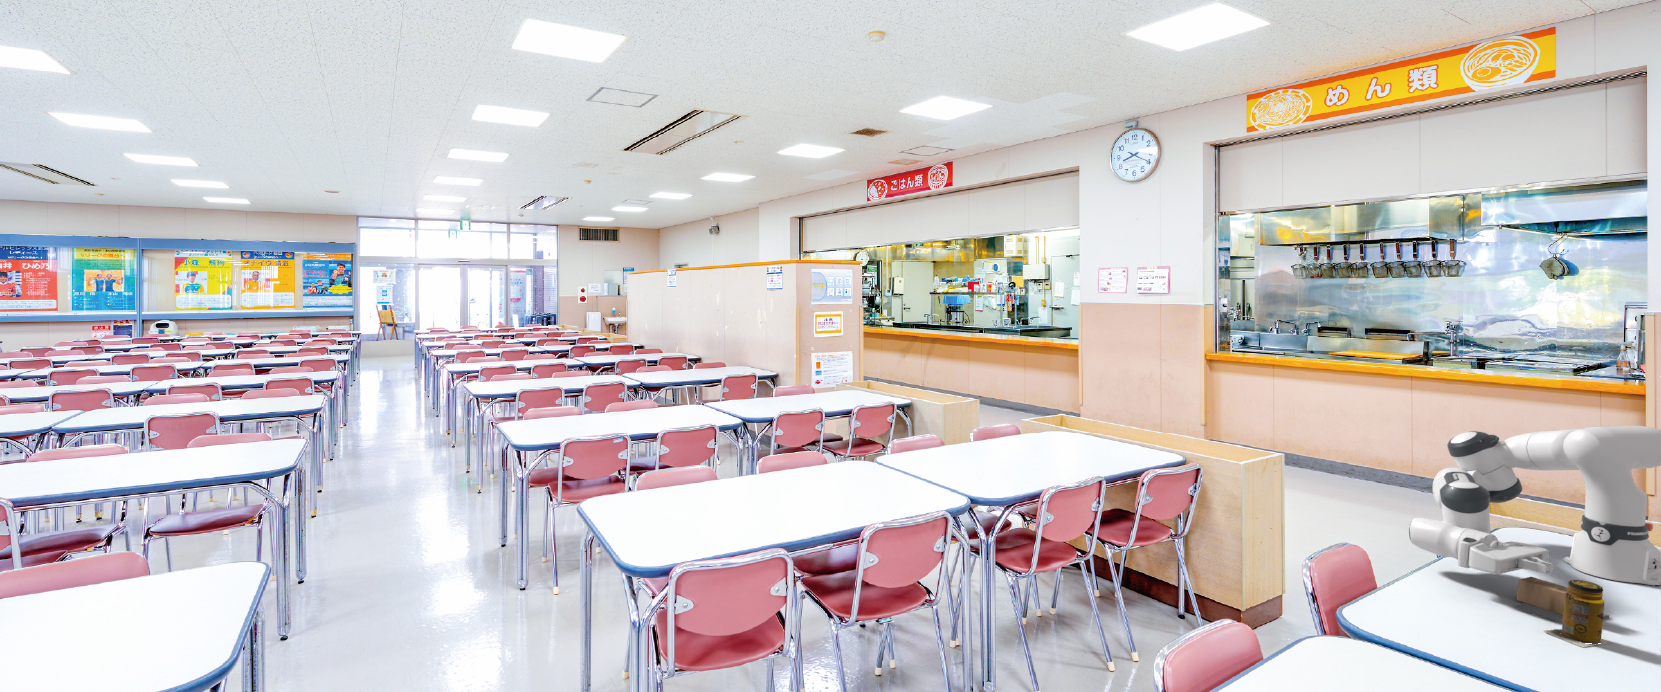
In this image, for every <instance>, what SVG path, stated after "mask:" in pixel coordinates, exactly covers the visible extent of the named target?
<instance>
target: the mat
mask: <svg viewBox="0 0 1661 692" xmlns="http://www.w3.org/2000/svg"><path fill="white" fill-rule="evenodd" d="M1513 609H1516V610H1519V611H1522V612H1525V613H1528V614H1531V615H1534V616H1537V617H1539V616H1540V617H1541V618H1543V619H1546V620H1548V621H1551V622H1555V623H1557V624H1561V625H1562V622H1563V615H1562V614H1559V613H1556V612H1553V611H1550V610H1547V609H1544V608H1541V607H1538V606H1535V605H1532V604H1528V603H1525V602H1522V603H1518V604H1514V605H1513ZM1609 618H1610V614H1607V613H1604V614H1603V620H1606V619H1609Z"/></svg>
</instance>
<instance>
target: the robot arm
mask: <svg viewBox="0 0 1661 692" xmlns="http://www.w3.org/2000/svg"><path fill="white" fill-rule="evenodd" d="M1447 450H1448V452H1449V454H1450V456H1451V457H1452V458H1453V460H1454V462H1455V464H1456V466H1457V467H1455V466H1452V467H1451V466H1450V467H1446V468H1442V469H1441V470H1440V471H1438V472H1437V474H1435V476H1434V479H1433V482H1432V495H1433V498H1434V500H1435V502H1436V504H1437V505H1438V508H1440V509H1441V513H1442V520H1437V519H1431V518H1426V517H1414V518H1413V519H1412V520H1411V522H1410V524H1409V528H1408V534H1409V535H1408V536H1409V540H1410V543H1411V544H1412V545H1414V546H1415V547H1416V548H1419V549H1421V550H1424V551H1426V552H1429V553H1432V554H1434V555H1437V556H1439V557H1445V558H1452V559H1455V560H1457V561H1458V562H1457V564H1458V566H1459V567H1461V568H1465V569H1469V568H1470V569H1474V570H1479V571H1481V572H1485V573H1490V574H1499V575H1502V574H1506V573H1511V572H1515V571H1519V570H1526V571H1527V570H1528V571H1535V572H1540V573H1545V574H1546V573H1549V572H1553V571H1554V565H1553V563H1551V562H1549V558H1550V557H1549V555H1550V551H1549V549H1547V548H1545V547H1541V546H1537V545H1533V544H1529V543H1523V542H1518V541H1506V542H1501V541H1500V540H1499V539H1498V538H1497V536H1496V535H1494V534H1493V533H1491V517H1490V503H1493V504H1500V503H1506V502H1509V501H1512V500H1514V499H1516V498H1517V497H1519V496H1520V495H1521V494H1522V492H1523V486H1522V482H1521V480H1520V478H1519V477H1517V475H1516V474H1515V472H1514V470H1513V469H1514V468H1517V469H1521V470H1523V469H1525V470H1530V471H1531V470H1532V471H1580V473H1581V476H1582V478H1583V481H1584V485H1585V486H1584V487H1585V496H1584V497H1585V499H1584V500H1585V501H1584V503H1585V504H1584V514H1582V516H1581V520H1580V529H1581V530H1579V531H1578V532H1575V533H1574V535H1573V539H1572V545H1571V550H1570V556H1565V557H1563V561H1564V562H1566V563H1567V564H1569V565H1571V567H1572V568H1574V569H1575V570H1578V571H1580V572H1582V573H1585V574H1588V575H1591V576H1595V577H1599V578H1602V579H1607V580H1612V581H1617V582H1624V583H1634V584H1643V585H1649V586H1655V585H1660V586H1661V550H1660V549H1658V548H1657V547H1656V546H1655V544H1653V543H1652V541H1651V540H1650V539H1649V538H1650V535H1649V534H1650V533H1649V532H1652V531H1653V528H1654V525H1653V523H1648V522H1646V519H1647V507H1648V496H1647V494H1646V492H1645V491H1644V490H1642V489H1641V488H1640V487H1638V486H1637V485H1636V483H1635V481H1634V479H1633V475H1632V472H1633V471H1632V470H1637V469H1639V470H1641V469H1642V470H1643V469H1652V468H1658V467H1661V428H1655V427H1653V426H1644V425H1618V426H1617V425H1614V426H1613V425H1611V426H1609V425H1608V426H1607V425H1606V426H1589V427H1584V428H1575V429H1571V428H1570V429H1557V430H1544V431H1533V432H1526V433H1521V434H1515V435H1513V436H1510V437H1508V438H1506V439H1504V440H1500V437H1499V436H1497V435H1496V434H1488V433H1486V432H1484V431H1478V430H1477V431H1476V430H1470V431H1467V432H1461V433H1459V434H1457V435H1455V436H1453V437H1452V438H1450V439H1449V441H1448V443H1447Z"/></svg>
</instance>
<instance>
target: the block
mask: <svg viewBox="0 0 1661 692" xmlns="http://www.w3.org/2000/svg"><path fill="white" fill-rule="evenodd" d="M1568 587H1569V586H1565V585H1561V584H1558V583H1554V582H1551V581H1547V580H1544V579H1541V578H1537V577H1534V576H1529V577H1524V578H1519V579H1518V583H1517V595H1516V598H1517V599H1516V600H1517V601H1519V602H1522V603H1528V604H1532V605H1535V606H1538V607H1541V608H1544V609H1547V610H1550V611H1553V612H1556V613H1559V614H1562V615H1563V611H1564V600H1565V593H1566V592H1567V591H1568V589H1567V588H1568Z"/></svg>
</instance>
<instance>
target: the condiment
mask: <svg viewBox="0 0 1661 692" xmlns="http://www.w3.org/2000/svg"><path fill="white" fill-rule="evenodd" d="M1567 584H1568V586H1567V587H1568V588H1567V589H1568V591H1567V592H1566V593H1565V600H1564V611H1563V622H1562V624H1561V626H1562V627H1561V628H1558V629H1557V628H1555V629H1550V630H1549V629H1548V630H1547V629H1546V630H1543V632H1545V633H1547V634H1549V635H1551V636H1553V637H1556V638H1558V639H1560V640H1563V641H1565V642H1568V643H1570V644H1573V645H1576V646H1579V647H1580V648H1581V647H1582V648H1584V647H1587V648H1588V647H1592V646H1602V645H1603V646H1604V645H1607V644H1609V645H1610V644H1613V641H1610V640H1606V639H1604V638H1602V633H1603V624H1604V619H1603V614H1605V613H1604V612H1605V599H1603V597H1604V589H1603V588H1604V587H1603V586H1601V585H1600V584H1597V583H1594V582H1591V581H1586V580H1583V579H1582V580H1581V579H1571V580H1568V583H1567ZM1585 643H1592V644H1585ZM1598 643H1601V644H1598ZM1595 644H1596V645H1595Z"/></svg>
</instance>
